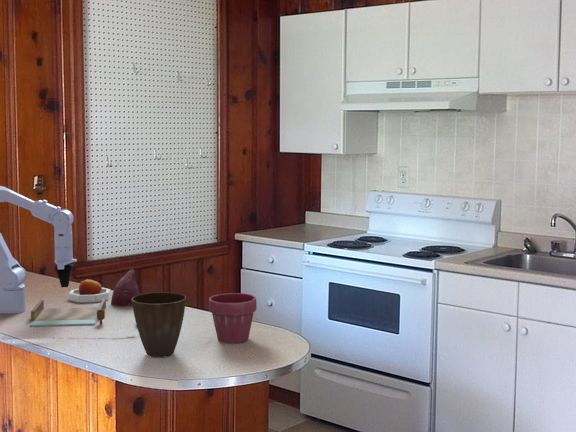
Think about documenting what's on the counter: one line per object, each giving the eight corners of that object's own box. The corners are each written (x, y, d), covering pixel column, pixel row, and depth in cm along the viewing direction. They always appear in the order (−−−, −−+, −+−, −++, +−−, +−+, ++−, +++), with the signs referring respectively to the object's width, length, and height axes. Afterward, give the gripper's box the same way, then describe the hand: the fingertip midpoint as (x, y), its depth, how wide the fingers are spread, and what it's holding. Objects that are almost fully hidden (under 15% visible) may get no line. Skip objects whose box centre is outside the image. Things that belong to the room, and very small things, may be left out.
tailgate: (34, 324, 250) (29, 328, 243) (34, 320, 250) (29, 325, 243) (97, 322, 252) (94, 327, 245) (97, 319, 252) (94, 323, 245)
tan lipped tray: (31, 324, 250) (30, 311, 250) (40, 312, 266) (40, 300, 266) (100, 322, 253) (100, 309, 252) (106, 310, 269) (105, 298, 268)
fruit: (71, 296, 283) (77, 275, 286) (81, 303, 290) (87, 283, 293) (91, 298, 280) (96, 277, 284) (101, 305, 287) (106, 284, 291)
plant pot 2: (203, 335, 238) (203, 294, 237) (248, 331, 243) (248, 290, 242) (216, 348, 225) (216, 304, 224) (262, 343, 230) (263, 300, 228)
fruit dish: (67, 302, 280) (67, 295, 279) (73, 294, 293) (73, 287, 293) (107, 301, 281) (107, 295, 281) (111, 293, 295) (111, 286, 295)
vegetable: (142, 312, 280) (153, 271, 280) (133, 315, 270) (145, 273, 269) (114, 304, 281) (125, 263, 281) (105, 307, 271) (116, 265, 270)
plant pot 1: (122, 353, 220) (121, 297, 218) (165, 343, 230) (165, 289, 228) (153, 365, 209) (152, 306, 207) (197, 354, 220) (197, 297, 218)
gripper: (72, 249, 254) (74, 291, 255) (79, 242, 268) (80, 282, 270) (50, 250, 253) (51, 291, 255) (57, 243, 267) (59, 282, 269)
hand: (64, 286), depth 262 cm, fingers closed
